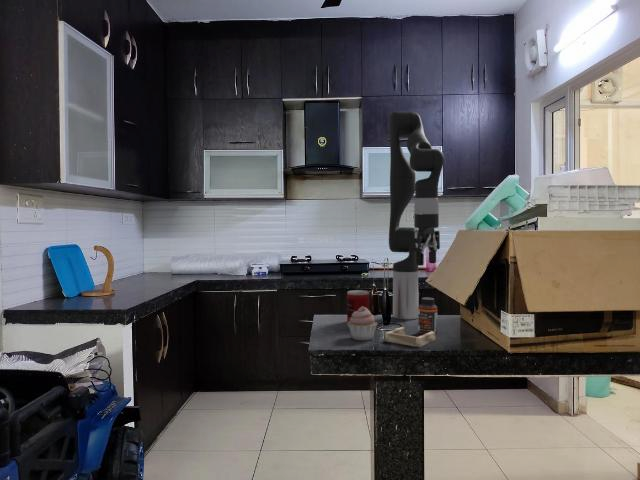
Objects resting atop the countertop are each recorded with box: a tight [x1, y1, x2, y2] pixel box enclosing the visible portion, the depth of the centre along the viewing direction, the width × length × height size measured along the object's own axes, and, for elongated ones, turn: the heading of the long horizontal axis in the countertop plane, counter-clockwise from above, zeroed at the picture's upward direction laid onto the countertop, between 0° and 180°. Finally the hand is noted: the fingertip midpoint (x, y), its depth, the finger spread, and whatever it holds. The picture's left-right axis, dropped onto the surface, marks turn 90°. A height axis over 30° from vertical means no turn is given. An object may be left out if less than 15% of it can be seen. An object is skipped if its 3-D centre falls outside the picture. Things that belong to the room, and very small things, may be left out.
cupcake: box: [346, 306, 378, 342], centre depth 154 cm, size 9×9×10 cm
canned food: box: [346, 289, 370, 323], centre depth 177 cm, size 8×8×11 cm
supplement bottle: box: [417, 296, 438, 336], centre depth 160 cm, size 6×6×11 cm
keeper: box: [384, 326, 436, 348], centre depth 151 cm, size 10×11×2 cm
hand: (426, 264), depth 159 cm, fingers open, 8 cm apart
